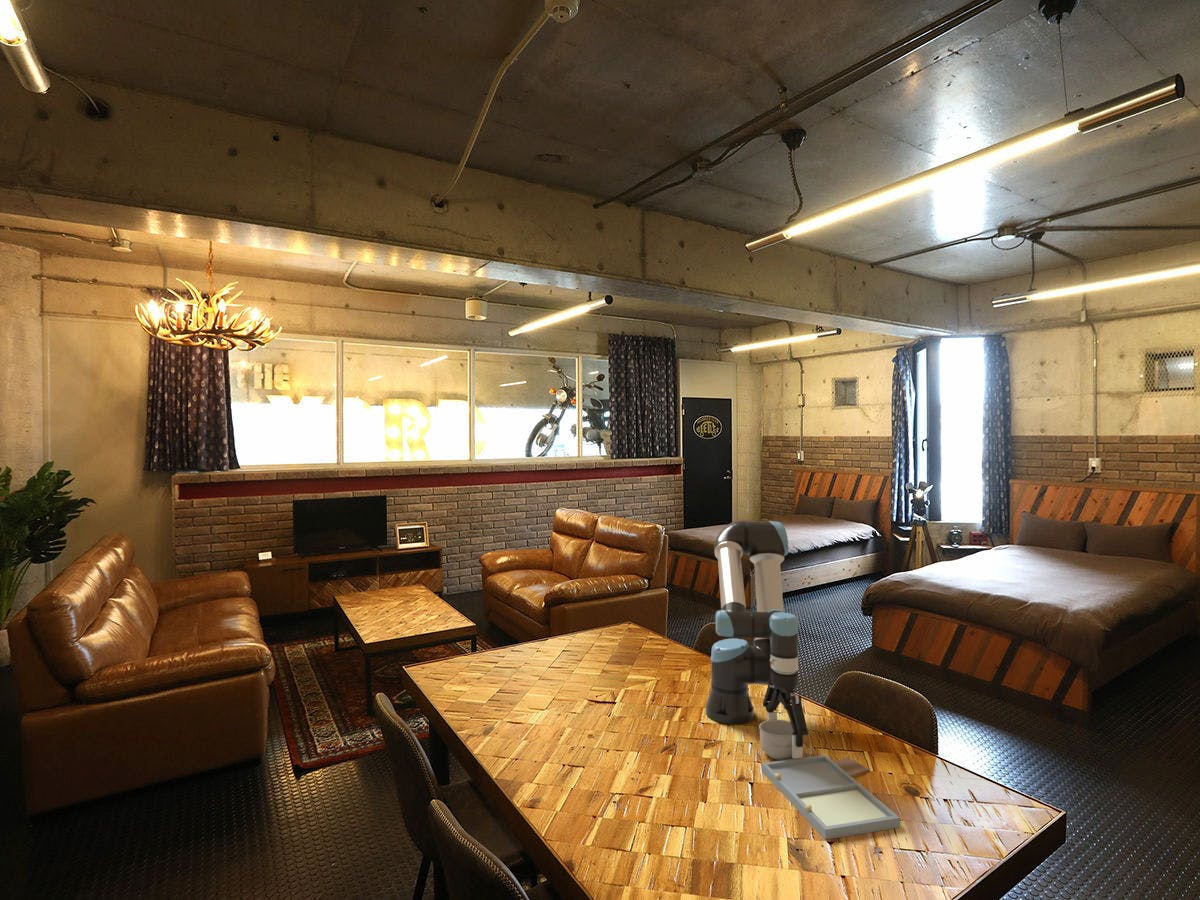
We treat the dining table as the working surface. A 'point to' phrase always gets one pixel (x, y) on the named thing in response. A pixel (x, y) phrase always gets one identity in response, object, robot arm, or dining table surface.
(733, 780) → the dining table surface
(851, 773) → the walnut coaster
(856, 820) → the grey divided tray
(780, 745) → the teacup
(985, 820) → the dining table surface
